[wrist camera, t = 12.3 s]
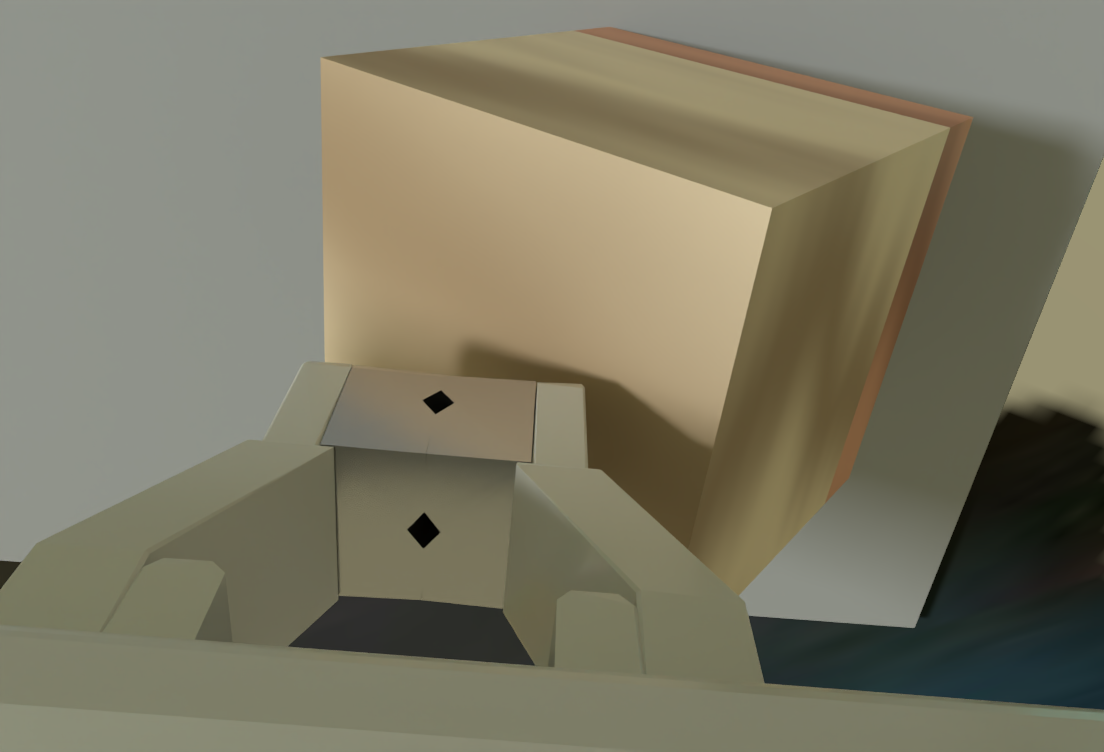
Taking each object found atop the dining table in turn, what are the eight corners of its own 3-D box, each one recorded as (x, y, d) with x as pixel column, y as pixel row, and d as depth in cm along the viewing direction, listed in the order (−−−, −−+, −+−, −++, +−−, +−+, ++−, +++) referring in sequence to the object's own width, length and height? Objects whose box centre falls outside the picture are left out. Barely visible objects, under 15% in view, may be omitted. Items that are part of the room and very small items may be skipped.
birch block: (772, 208, 8) (973, 117, 12) (320, 56, 11) (609, 27, 15) (654, 684, 11) (848, 478, 15) (326, 464, 14) (566, 343, 18)
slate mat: (-513, -688, 11) (-556, -709, 11) (1330, -467, 12) (1358, -478, 12) (-91, 538, 21) (-104, 552, 21) (907, 612, 22) (914, 627, 22)
